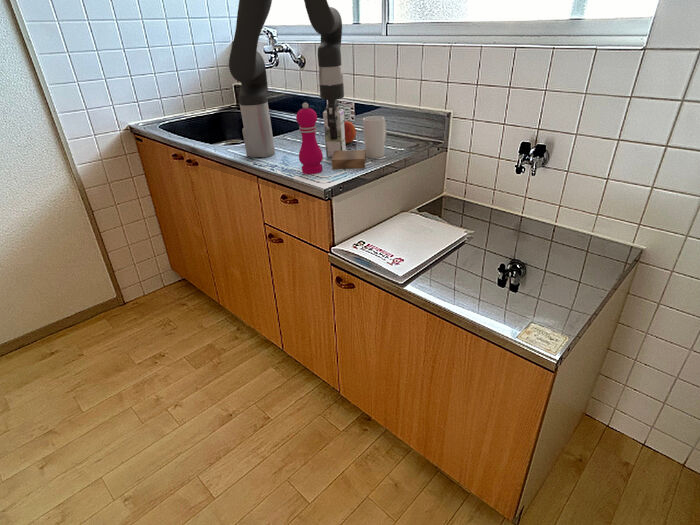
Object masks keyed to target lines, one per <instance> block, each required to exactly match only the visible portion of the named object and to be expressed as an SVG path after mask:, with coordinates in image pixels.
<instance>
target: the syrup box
mask: <svg viewBox="0 0 700 525" xmlns="http://www.w3.org/2000/svg"><path fill="white" fill-rule="evenodd" d="M322 116H323V117H322V118H323V129H324V130H323V131H324V141H325V142H324V143H325V154H326V157H327V158H332V157H333V154H334V151H345V150H347V148H346V143H345V130H344V121H345V113H344V109H343V108H340V109H339V111H338V112H336V113H335V116H338V120H337V139H336V140H331V138H330V128H329V127H328V119H327V111H326V109H325V110H324V111H323V112H322ZM331 123H334V120H331Z"/></svg>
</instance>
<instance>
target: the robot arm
mask: <svg viewBox="0 0 700 525" xmlns="http://www.w3.org/2000/svg"><path fill="white" fill-rule="evenodd" d="M303 1H304V6H305V9H306V13H307V16H308V19H309V22H310V25H311V27H312V28H313V29H314V31H315V32H316V33H317V34H319V35H320V45H319V46H318V48H317V61H318V62H317V63H318V86H319V97H320V98H319V99H321V100H323V101H327V104H326V106H325V110H326V111H327V119H328V127H329V128H330V138H331V140H336V139H337V120H338V116H335V113H336V112H338V111H339V109H341V106H340V105H341V104H340V101H339V100H341V99H343V98H344V97H345V89H344V87H345V86H344V72H343V66H342V54H341V46H342V36H343V22H342V15H341V13H340V12H339V11H338V9H336V8H335V7H332V6H330V5H329V2H328V0H303ZM272 3H273V0H238V6H237V14H236V24H235V33H234V37H233V42H232V44H231V45H232V46H231V49H230V53H229V57H228V69H229V72H230V74H231V76H232V78H233V79H234V80H235V81H237V82H238V83H240V84H241V88H240V92H239V95H238V103H239V108H240V114H241V119H242V125H243V128H242V136H243V142H244V148H245V153H246V157H247V156H252V157H262V158H268V157H271V156H273V155H275V154H276V149H275V143H274V137H273V129H272V122H271V121H272V120H271V115H270V108H269V103H268V93H269V86H268V77H267V76H268V75H267V70H266V69H267V68H266V63H265V59H264V57H263V56H262V54H261V53H260V52H259V51H258V43H259V39H260V35H261V32H262V30H263V27H264V26H265V24H266V20H267V19H268V15H269V13H270V11H271V7H272ZM331 120H334V123H331ZM252 157H251V158H252Z"/></svg>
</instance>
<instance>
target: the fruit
mask: <svg viewBox="0 0 700 525" xmlns="http://www.w3.org/2000/svg"><path fill="white" fill-rule="evenodd" d="M344 130H345V144H350V143H352V142H353V141H354V140H355V138H356V136H357V129H356V127H355V125H354V124H353V123H352V122H351V121H348V120H344Z"/></svg>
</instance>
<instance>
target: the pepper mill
mask: <svg viewBox="0 0 700 525" xmlns="http://www.w3.org/2000/svg"><path fill="white" fill-rule="evenodd" d="M301 105H302V108H301V109H299V110H298V111H297V113H296V122H297V124H298V125H299V127H298V128H299V133H300V134H301V140H302V141H301V146H300V149H299V153H298V160H299V162H300V164H302V165H301V173H302V174H303V175H304V174H305V175H309V174H310V175H316V174H317V175H318V174H321V173H322V172H323V164H322V163H321V162H322V161H323V159H324V155H323V152H322V149H321V148H320V146H319V144H318V142H317V138H316V132H317V130H318V129H317V125H316V123H317V122H318V114H317V112H316V111H315V110H314V109H313V108H310V107H309V103H308V102H303V103H302V104H301Z"/></svg>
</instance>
